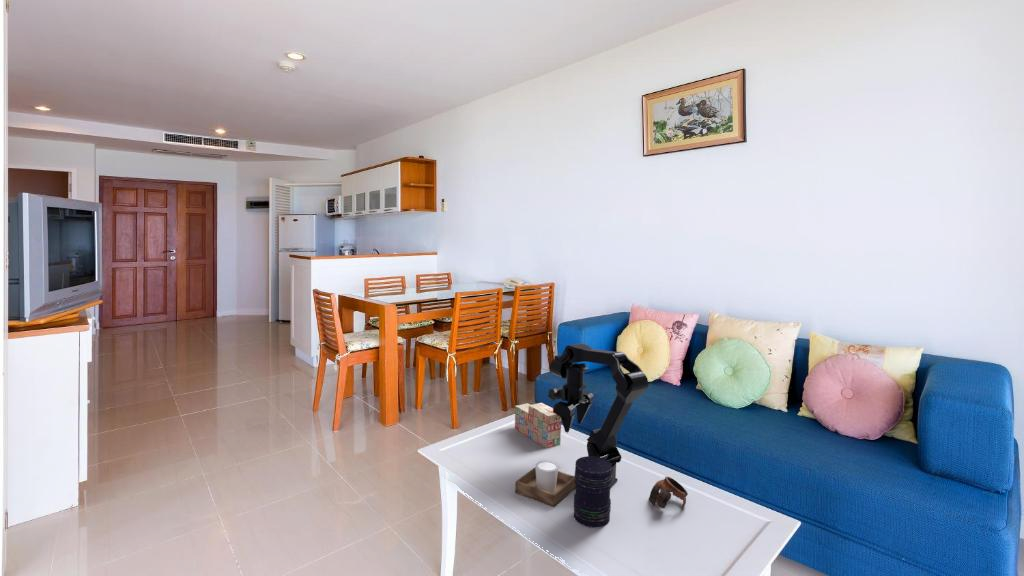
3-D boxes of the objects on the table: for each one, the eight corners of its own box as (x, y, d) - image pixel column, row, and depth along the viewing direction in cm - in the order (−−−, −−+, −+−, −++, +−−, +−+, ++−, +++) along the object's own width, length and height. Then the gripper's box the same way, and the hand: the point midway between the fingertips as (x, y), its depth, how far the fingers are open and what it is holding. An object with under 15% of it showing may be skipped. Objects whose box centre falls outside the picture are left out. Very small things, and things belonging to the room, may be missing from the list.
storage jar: (617, 517, 134) (619, 464, 132) (597, 532, 126) (599, 477, 125) (586, 503, 140) (588, 452, 139) (565, 517, 133) (567, 464, 131)
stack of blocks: (514, 428, 194) (514, 398, 192) (527, 425, 197) (528, 395, 196) (547, 449, 176) (548, 415, 174) (560, 445, 179) (562, 412, 178)
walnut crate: (576, 487, 149) (576, 476, 148) (554, 507, 138) (555, 495, 137) (538, 475, 156) (538, 464, 156) (515, 492, 145) (515, 481, 145)
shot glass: (554, 496, 142) (555, 472, 142) (531, 491, 145) (532, 469, 144) (560, 484, 149) (560, 462, 148) (538, 481, 151) (538, 459, 150)
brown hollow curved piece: (650, 493, 148) (665, 471, 147) (677, 516, 143) (694, 493, 142) (640, 501, 137) (657, 477, 136) (669, 526, 133) (687, 502, 132)
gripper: (566, 371, 174) (564, 414, 176) (539, 384, 159) (537, 431, 161) (595, 377, 168) (593, 421, 170) (570, 390, 153) (568, 439, 155)
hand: (573, 427), depth 164 cm, fingers open, 9 cm apart
